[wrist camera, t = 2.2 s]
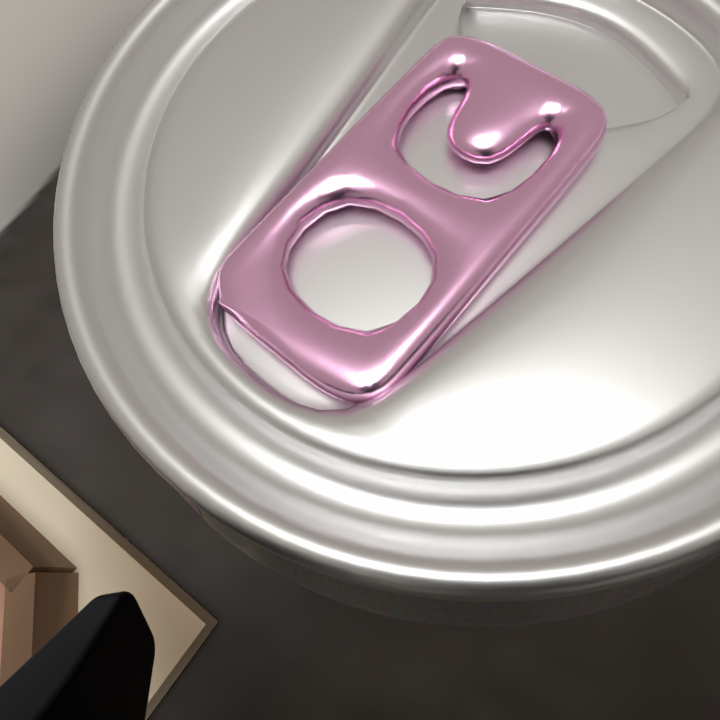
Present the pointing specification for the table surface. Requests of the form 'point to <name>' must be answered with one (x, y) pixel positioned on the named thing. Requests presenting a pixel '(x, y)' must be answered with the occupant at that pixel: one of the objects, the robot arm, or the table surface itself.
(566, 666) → the table surface
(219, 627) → the table surface
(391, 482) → the beverage can
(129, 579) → the board
